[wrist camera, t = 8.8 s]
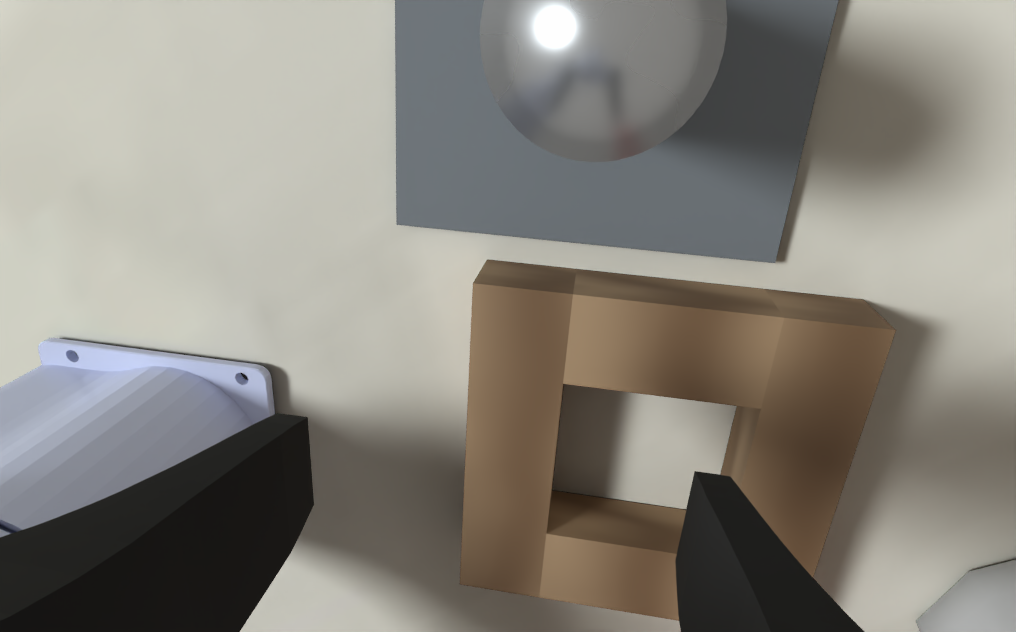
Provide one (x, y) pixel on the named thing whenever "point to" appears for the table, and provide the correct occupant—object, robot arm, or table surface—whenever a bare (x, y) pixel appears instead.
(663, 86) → the peg
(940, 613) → the flask
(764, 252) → the slate mat
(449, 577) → the table surface
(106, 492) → the robot arm
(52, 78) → the table surface
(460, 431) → the table surface
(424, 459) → the table surface
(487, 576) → the pocket block
